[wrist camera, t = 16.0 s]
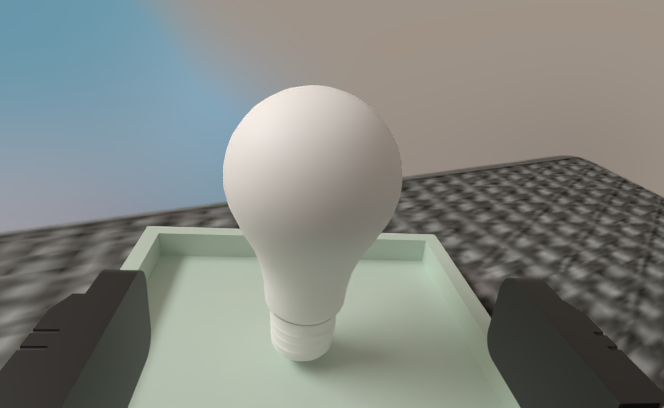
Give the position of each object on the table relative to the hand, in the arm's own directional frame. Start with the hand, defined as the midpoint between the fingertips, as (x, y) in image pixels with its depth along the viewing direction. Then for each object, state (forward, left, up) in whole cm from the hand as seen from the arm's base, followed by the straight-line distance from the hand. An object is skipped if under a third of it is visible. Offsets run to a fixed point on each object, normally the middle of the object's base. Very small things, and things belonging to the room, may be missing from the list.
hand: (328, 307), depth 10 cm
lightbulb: (0, -6, -7) cm, 10 cm away
